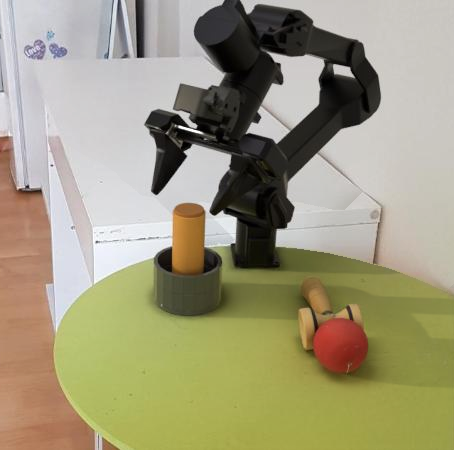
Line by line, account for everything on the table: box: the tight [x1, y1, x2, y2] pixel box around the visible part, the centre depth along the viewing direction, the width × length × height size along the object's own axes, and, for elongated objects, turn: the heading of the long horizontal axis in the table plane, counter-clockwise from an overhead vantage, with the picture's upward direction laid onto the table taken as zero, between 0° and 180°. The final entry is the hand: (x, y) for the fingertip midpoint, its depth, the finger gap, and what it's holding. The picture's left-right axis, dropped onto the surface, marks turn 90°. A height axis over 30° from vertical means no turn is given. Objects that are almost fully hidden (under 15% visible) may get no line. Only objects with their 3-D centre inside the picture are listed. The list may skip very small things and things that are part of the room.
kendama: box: [297, 277, 369, 374], centre depth 89 cm, size 8×6×18 cm
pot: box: [153, 245, 223, 317], centre depth 96 cm, size 9×9×6 cm
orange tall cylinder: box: [171, 202, 207, 275], centre depth 94 cm, size 4×4×12 cm
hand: (181, 203), depth 90 cm, fingers open, 9 cm apart
